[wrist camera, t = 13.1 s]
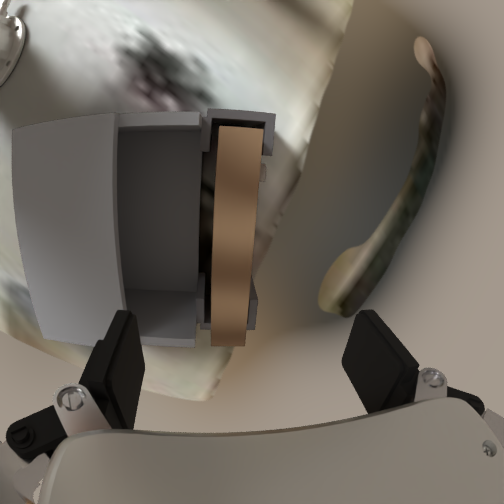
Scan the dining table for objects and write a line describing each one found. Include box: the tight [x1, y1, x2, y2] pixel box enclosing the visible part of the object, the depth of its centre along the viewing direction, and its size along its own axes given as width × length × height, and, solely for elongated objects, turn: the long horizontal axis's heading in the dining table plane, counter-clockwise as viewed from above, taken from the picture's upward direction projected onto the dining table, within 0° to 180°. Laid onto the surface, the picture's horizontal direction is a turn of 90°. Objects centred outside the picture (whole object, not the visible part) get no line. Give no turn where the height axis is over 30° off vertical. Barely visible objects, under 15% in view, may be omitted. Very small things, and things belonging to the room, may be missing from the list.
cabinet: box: [12, 109, 276, 348], centre depth 25 cm, size 22×22×11 cm
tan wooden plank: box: [211, 126, 266, 346], centre depth 26 cm, size 18×4×11 cm, turn 176°
